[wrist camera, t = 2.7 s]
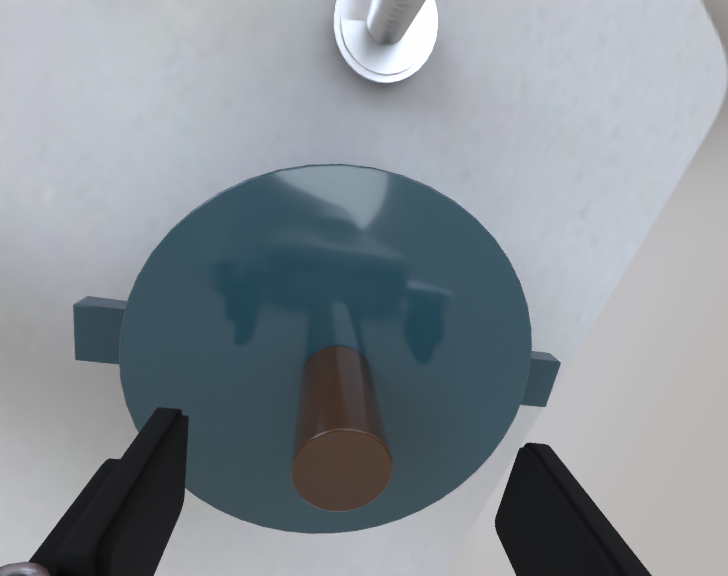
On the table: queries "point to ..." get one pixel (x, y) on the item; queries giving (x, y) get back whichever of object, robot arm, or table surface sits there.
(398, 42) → the screw
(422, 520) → the table surface
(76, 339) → the pot
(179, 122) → the table surface
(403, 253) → the lid
